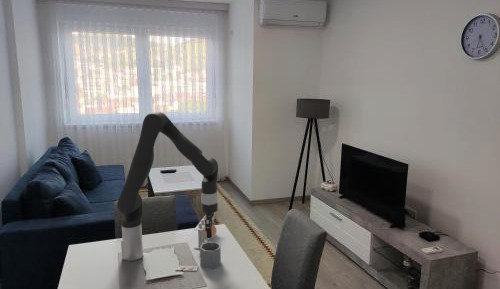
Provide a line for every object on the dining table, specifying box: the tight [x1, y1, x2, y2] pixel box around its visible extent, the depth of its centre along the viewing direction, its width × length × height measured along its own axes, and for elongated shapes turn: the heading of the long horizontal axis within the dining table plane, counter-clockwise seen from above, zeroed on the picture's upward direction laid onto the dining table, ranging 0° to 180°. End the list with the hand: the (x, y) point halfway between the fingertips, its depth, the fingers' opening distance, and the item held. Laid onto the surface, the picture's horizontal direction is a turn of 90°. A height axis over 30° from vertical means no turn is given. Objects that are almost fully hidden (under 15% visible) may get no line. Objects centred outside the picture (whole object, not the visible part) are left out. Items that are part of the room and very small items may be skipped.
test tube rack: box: [194, 212, 216, 250], centre depth 192 cm, size 25×4×13 cm, turn 170°
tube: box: [199, 241, 222, 270], centre depth 166 cm, size 9×9×9 cm
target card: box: [179, 265, 199, 272], centre depth 163 cm, size 10×4×1 cm, turn 88°
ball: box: [204, 224, 218, 238], centre depth 164 cm, size 6×6×6 cm
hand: (210, 234), depth 165 cm, fingers closed on ball, 6 cm apart
